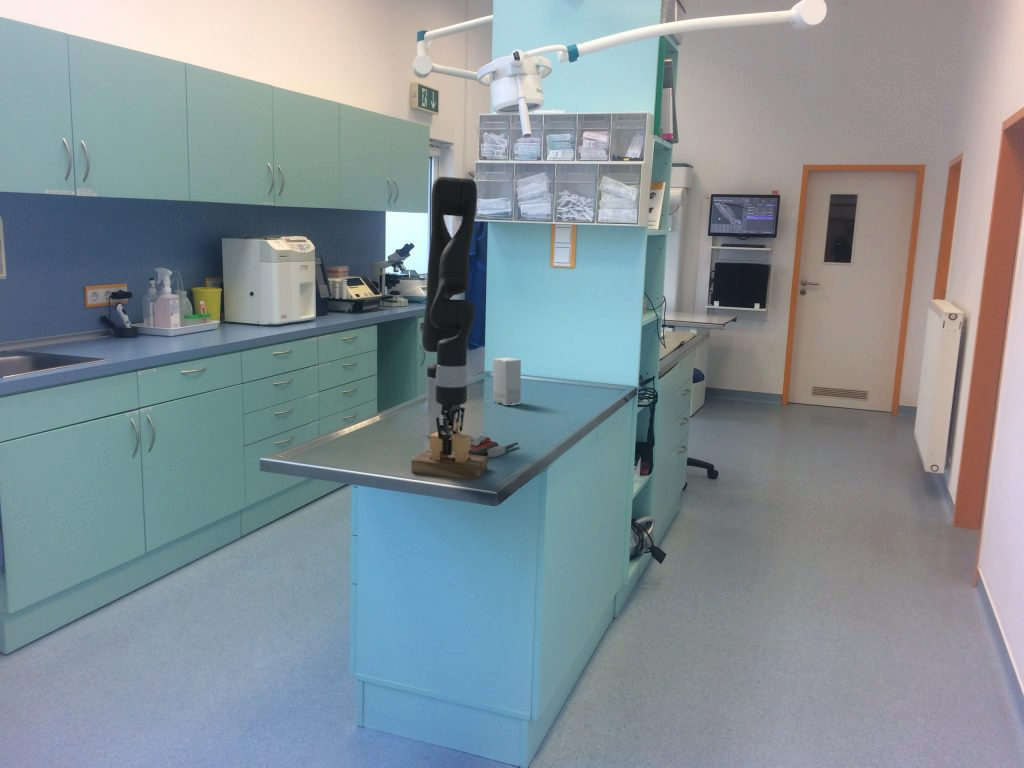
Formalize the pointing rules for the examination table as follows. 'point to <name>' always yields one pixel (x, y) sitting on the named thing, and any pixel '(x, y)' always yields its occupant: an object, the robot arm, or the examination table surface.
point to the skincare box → (507, 380)
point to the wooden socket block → (450, 466)
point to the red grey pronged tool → (488, 447)
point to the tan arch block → (459, 446)
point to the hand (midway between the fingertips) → (450, 452)
